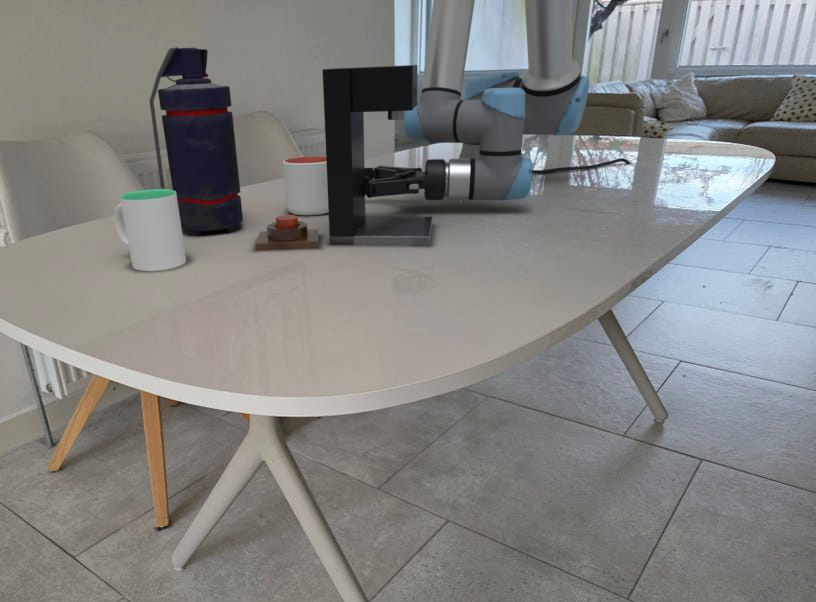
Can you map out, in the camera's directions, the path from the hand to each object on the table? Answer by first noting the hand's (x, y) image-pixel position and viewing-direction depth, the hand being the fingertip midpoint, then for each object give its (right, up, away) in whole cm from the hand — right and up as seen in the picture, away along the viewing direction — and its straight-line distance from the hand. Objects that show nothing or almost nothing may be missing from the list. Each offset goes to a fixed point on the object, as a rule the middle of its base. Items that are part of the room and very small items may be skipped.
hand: (335, 181), depth 121 cm
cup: (-5, -5, +4) cm, 8 cm away
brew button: (-8, -13, -19) cm, 24 cm away
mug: (-29, -20, -25) cm, 43 cm away
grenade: (-24, -11, -7) cm, 27 cm away
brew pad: (-8, -16, -18) cm, 25 cm away
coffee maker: (+8, -14, -15) cm, 22 cm away
